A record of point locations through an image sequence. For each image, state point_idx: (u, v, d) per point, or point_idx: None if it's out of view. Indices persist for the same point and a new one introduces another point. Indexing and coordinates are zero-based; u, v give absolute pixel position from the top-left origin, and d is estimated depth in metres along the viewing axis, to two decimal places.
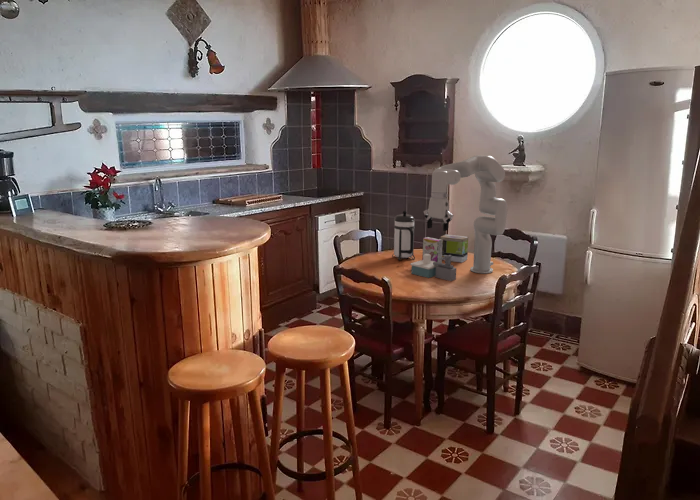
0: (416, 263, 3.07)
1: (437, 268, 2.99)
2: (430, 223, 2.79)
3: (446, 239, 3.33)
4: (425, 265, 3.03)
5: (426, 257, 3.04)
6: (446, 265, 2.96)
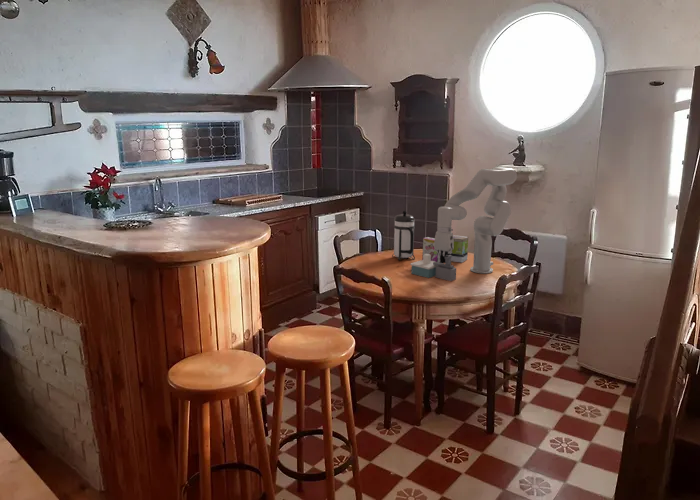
0: (416, 263, 3.07)
1: (437, 268, 2.99)
2: None
3: None
4: (425, 265, 3.03)
5: (426, 257, 3.04)
6: (446, 265, 2.96)
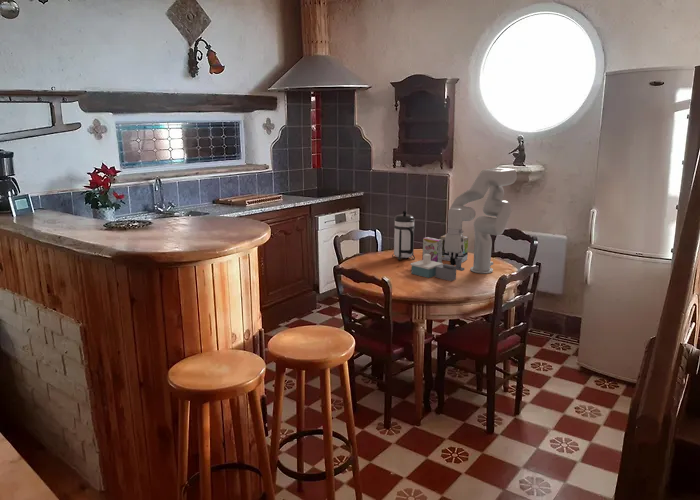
0: (416, 263, 3.07)
1: (437, 268, 2.99)
2: None
3: None
4: (425, 265, 3.03)
5: (426, 257, 3.04)
6: (457, 267, 2.92)
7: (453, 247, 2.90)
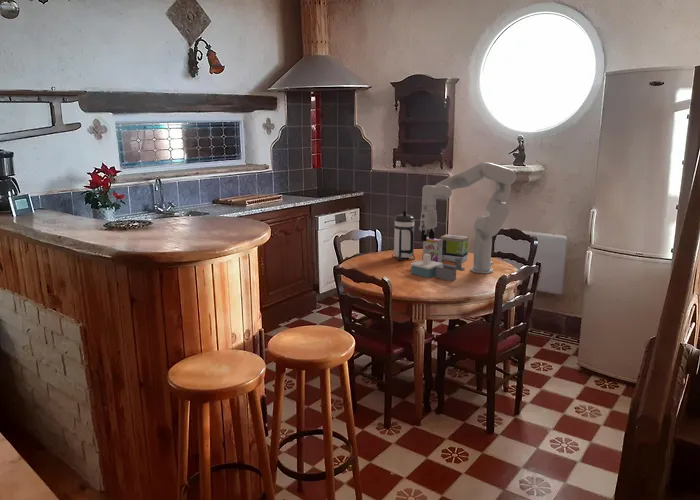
0: (416, 263, 3.07)
1: (437, 268, 2.99)
2: (431, 235, 3.05)
3: (446, 239, 3.33)
4: (425, 265, 3.03)
5: (426, 257, 3.04)
6: (457, 267, 2.92)
7: None
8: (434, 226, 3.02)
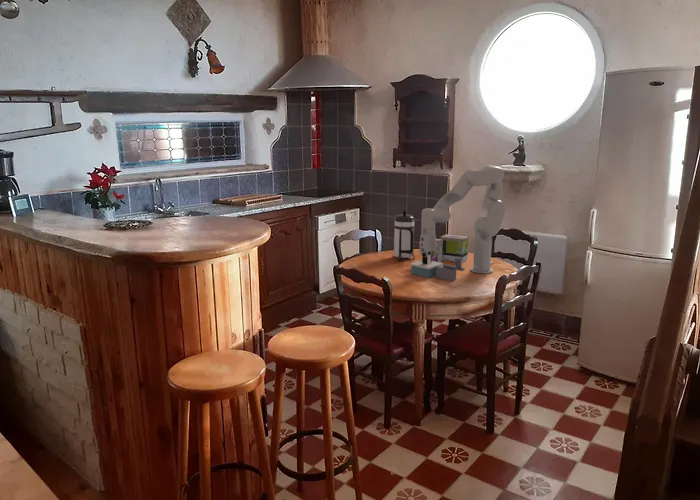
0: (416, 263, 3.07)
1: (437, 268, 2.99)
2: None
3: (446, 239, 3.33)
4: (425, 265, 3.03)
5: None
6: (457, 267, 2.92)
7: None
8: (433, 249, 3.05)
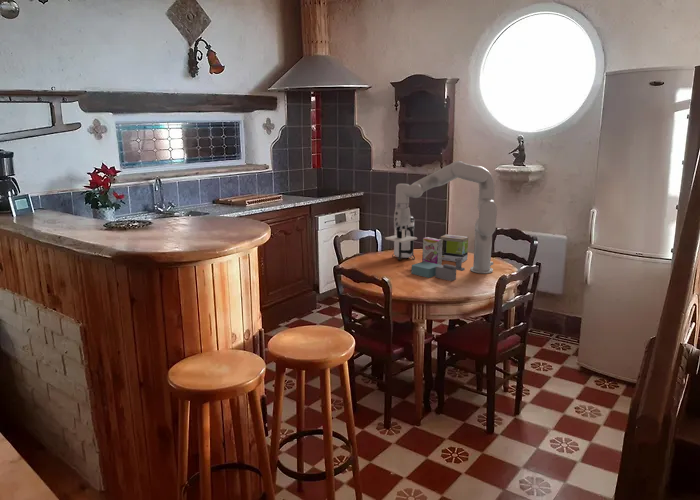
0: (391, 237, 3.14)
1: (437, 268, 2.99)
2: None
3: (446, 239, 3.33)
4: (399, 239, 3.10)
5: None
6: (457, 267, 2.92)
7: None
8: (407, 223, 3.12)
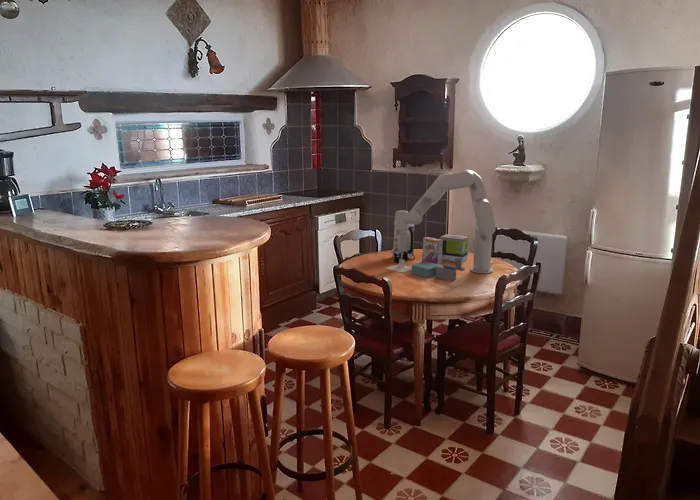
0: (390, 268, 3.18)
1: (437, 268, 2.99)
2: (404, 256, 3.19)
3: (446, 239, 3.33)
4: (399, 270, 3.14)
5: (400, 262, 3.16)
6: (457, 267, 2.92)
7: None
8: (407, 249, 3.15)
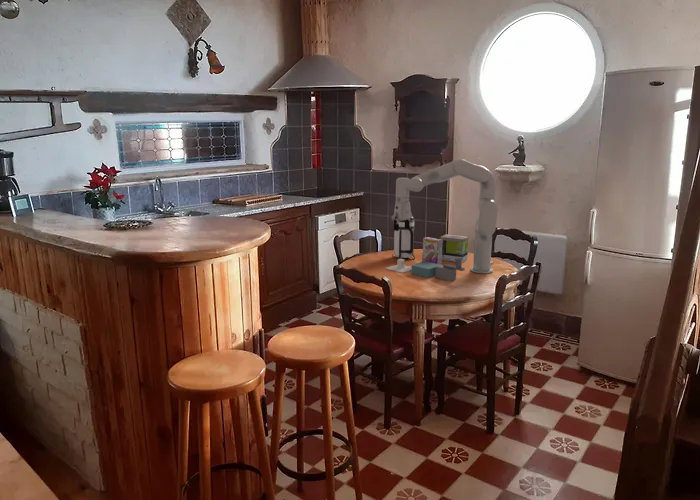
0: (390, 268, 3.18)
1: (437, 268, 2.99)
2: (406, 224, 3.16)
3: (446, 239, 3.33)
4: (399, 270, 3.14)
5: (400, 262, 3.16)
6: (457, 267, 2.92)
7: None
8: (408, 217, 3.11)
